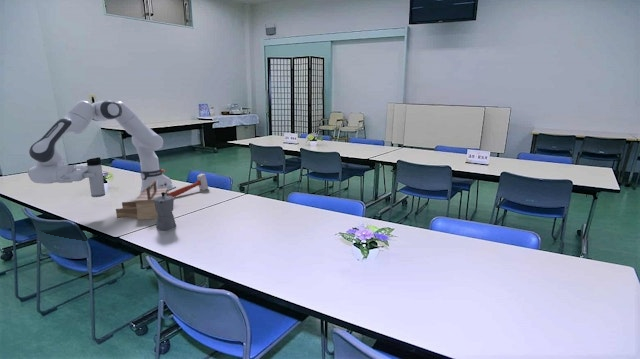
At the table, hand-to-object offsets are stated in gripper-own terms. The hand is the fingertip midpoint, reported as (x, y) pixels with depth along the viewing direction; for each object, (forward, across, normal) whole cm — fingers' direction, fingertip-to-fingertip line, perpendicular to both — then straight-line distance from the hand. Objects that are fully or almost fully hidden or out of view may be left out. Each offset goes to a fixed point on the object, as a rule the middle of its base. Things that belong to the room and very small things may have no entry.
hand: (97, 173), depth 186 cm
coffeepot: (+35, -25, +23) cm, 49 cm away
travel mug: (-1, 0, +12) cm, 12 cm away
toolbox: (+20, 0, +23) cm, 31 cm away
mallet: (+40, +35, +24) cm, 59 cm away
